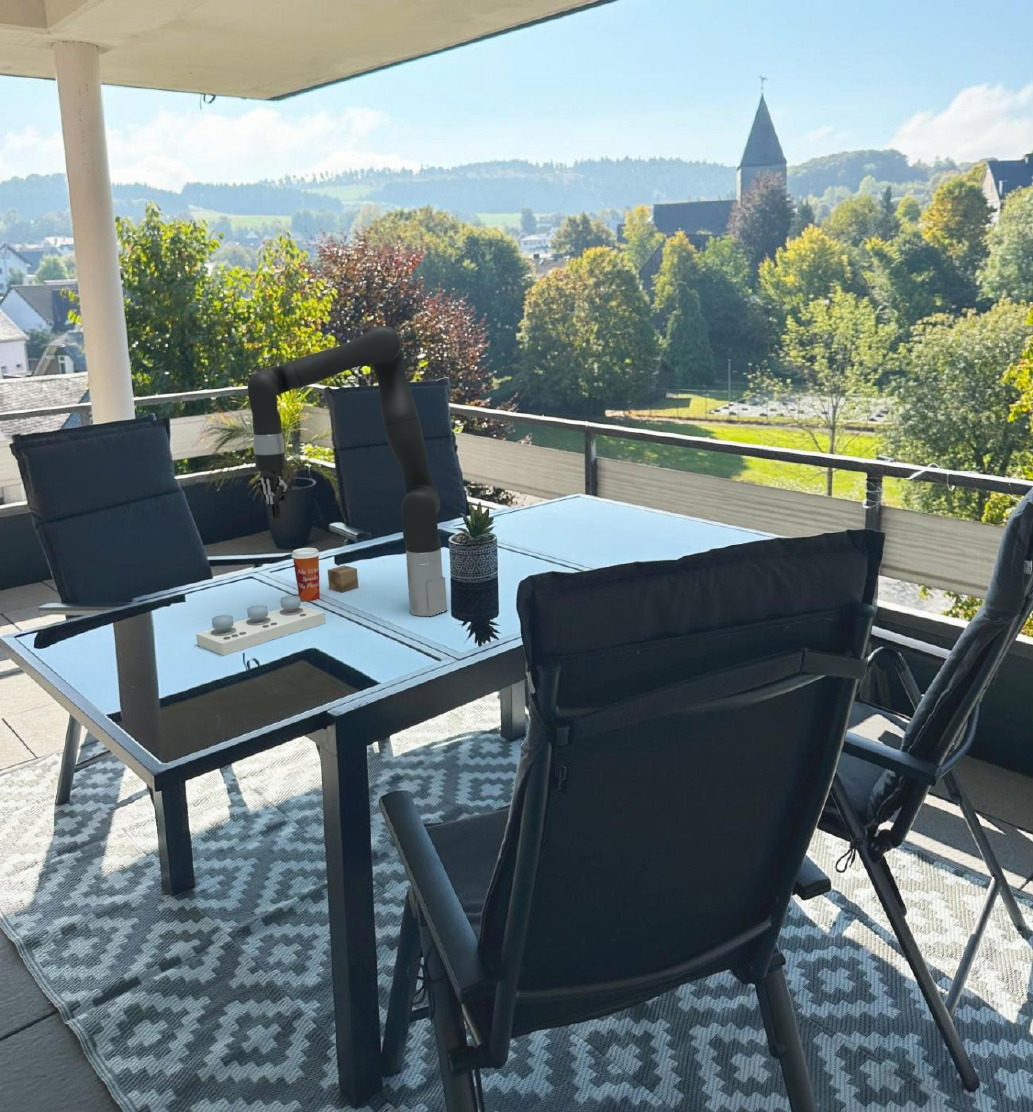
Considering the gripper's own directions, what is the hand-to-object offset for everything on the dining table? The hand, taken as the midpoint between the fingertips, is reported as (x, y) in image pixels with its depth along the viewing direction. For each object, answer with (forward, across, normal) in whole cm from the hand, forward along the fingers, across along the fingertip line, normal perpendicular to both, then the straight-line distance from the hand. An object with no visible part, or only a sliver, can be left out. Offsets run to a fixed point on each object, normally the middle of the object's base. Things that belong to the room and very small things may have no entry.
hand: (275, 517), depth 258 cm
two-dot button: (+23, -5, +11) cm, 26 cm away
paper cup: (+28, +10, -15) cm, 33 cm away
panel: (+28, -7, +10) cm, 30 cm away
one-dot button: (+23, -5, +1) cm, 23 cm away
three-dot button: (+23, -5, +21) cm, 31 cm away
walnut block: (+28, +10, -27) cm, 40 cm away
